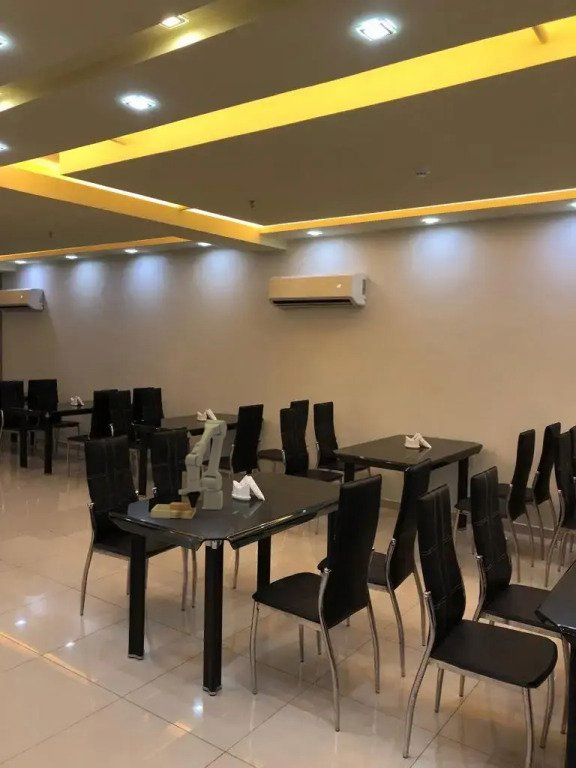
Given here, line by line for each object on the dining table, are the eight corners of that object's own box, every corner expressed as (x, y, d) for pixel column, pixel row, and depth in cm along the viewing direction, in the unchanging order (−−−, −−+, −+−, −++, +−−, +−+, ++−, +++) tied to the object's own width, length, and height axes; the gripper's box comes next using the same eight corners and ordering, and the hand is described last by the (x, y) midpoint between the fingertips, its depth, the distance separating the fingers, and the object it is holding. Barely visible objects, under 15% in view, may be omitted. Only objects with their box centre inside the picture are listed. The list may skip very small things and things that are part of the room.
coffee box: (191, 503, 319) (191, 472, 318) (181, 502, 322) (181, 471, 322) (201, 500, 327) (202, 469, 326) (192, 498, 330) (192, 468, 330)
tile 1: (181, 507, 297) (181, 502, 297) (179, 510, 293) (179, 504, 293) (171, 507, 298) (172, 502, 297) (169, 509, 293) (169, 504, 293)
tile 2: (190, 507, 297) (190, 502, 297) (188, 510, 293) (188, 504, 293) (181, 507, 298) (181, 502, 298) (179, 509, 293) (179, 504, 293)
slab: (195, 512, 302) (196, 505, 301) (191, 518, 289) (191, 512, 288) (175, 511, 302) (175, 505, 302) (170, 518, 289) (170, 512, 289)
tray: (175, 511, 302) (175, 504, 301) (170, 518, 289) (170, 510, 289) (156, 511, 302) (157, 504, 301) (150, 518, 289) (150, 510, 289)
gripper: (202, 476, 302) (202, 504, 302) (175, 479, 293) (175, 507, 294) (210, 478, 296) (209, 506, 297) (182, 482, 288) (182, 511, 288)
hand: (193, 507), depth 295 cm, fingers closed
